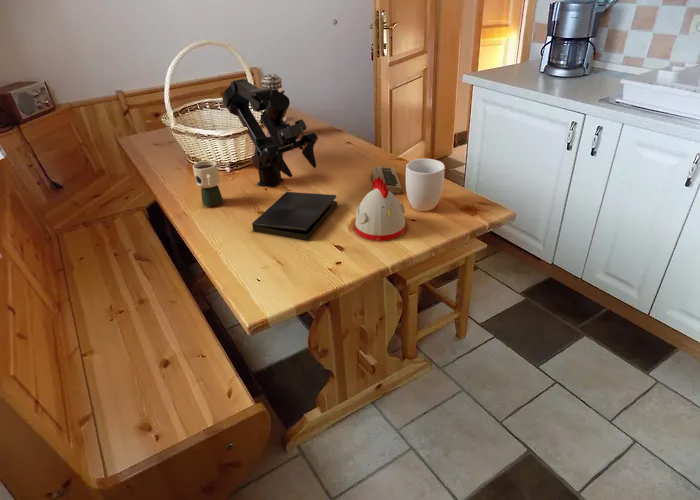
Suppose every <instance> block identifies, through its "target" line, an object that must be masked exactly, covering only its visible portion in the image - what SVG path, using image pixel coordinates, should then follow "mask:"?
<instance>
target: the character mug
mask: <svg viewBox="0 0 700 500" xmlns="http://www.w3.org/2000/svg"><path fill="white" fill-rule="evenodd" d="M217 163H218V162H216V161H214V160H208V159H207V160H201V161H198V162H196V163H194V164H193V165H192V171H193V175H194V179H195V180H194V181H195V183H196V187H198V188H200V191H201V201H202V205H203V206H205V207H212V206H216V205H218V204H219V205H220V203H222V202H223V201H224V199H223V196H222V193H221V190H220V188H219V186H218V185H220V184H221V178H220V173H219V168H218V167H217Z"/></svg>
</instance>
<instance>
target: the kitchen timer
mask: <svg viewBox="0 0 700 500" xmlns="http://www.w3.org/2000/svg"><path fill="white" fill-rule="evenodd" d="M371 184H372V188H373V189H372V190H370V191H369V192H368V193H367V194H366V195H365V196H364V197H363V199H362V200H361V202H360V203H359V206H356V212H355V223H354V224H355V232H356V233H357V235H359V236H360V237H361V238H363V239H366V240H369V241H375V242H381V241H382V242H384V241H390V240H394V239H397V238H399V237H401V236H402V235H403V234H404V233H405V231H406V217H405V211H406V209H405V205H404V203H403V202H400V201H399V199H398V198H397V197H396V196H395V193H391V192H390V191H389V189H386V183H383V179H381V178H380V177H378V178H377V179H374V180H372V181H371Z"/></svg>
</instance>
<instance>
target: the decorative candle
mask: <svg viewBox="0 0 700 500" xmlns="http://www.w3.org/2000/svg"><path fill="white" fill-rule="evenodd" d="M260 81H261V85H262V88H269V89H272V90H275V89H278V92H280V93H283V94H285V90H284V88H283V84H282V77H280V76H279V75H278V74H276V73H275V74H274V73H272V74H265V75H264V76H263V77H262V79H260ZM282 119H283V120H284V122H285V123H286V124H288V120H287V116H286V115H285V116H284V118H282ZM270 136H271V135H270V134H269V132H268V131H267V137H270Z"/></svg>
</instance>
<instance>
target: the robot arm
mask: <svg viewBox="0 0 700 500" xmlns="http://www.w3.org/2000/svg"><path fill="white" fill-rule="evenodd" d="M290 103H291V102H290V98H289V97H288V96H287V95H286V94H285V93H280V92H278V89H275V90H272V89H269V88H263V87H262V88H261V87H258V86H256V85H255V84H253V83H251V82H249V81H248V80H247V79H245V78H240V79H235V80H232V81H230V85H229V86H228V87H227V88H226V89H225V90H224V91H223V94H222V104H223V106H224V108H226V109H227V111H228V112H229V113H230V114H231V115H233V116H235V117H237V118H238V120H239V121H240V123H241V124H242V126H243V128H244V127H247V128H248V131H246V133H247V135H248V137H249V139H251V142H252V143H253V145H254V154H253V157H252V160H251V162H252V165H253V167H254V168H255V169H256V170H257V172H258V177H259V182H257V185H258V186H262V187H270V188H275V187H277V186H278V185H279V184H280V183H281V182H282V181H283V180H284V178H283V177H282V173H283V174H284V175H286V176H287V177H289V178H292V177H293V173H292V171H291V170H290V168H289V167H288V165H287V162H285V160H284V153H286V152H290V151H292V150H295V149H298V148H299V149H300V150H301V154H302V155H303V156H304V158H305V159H306V160H307V162H308V163H309V164H310V165H311V166H312V167H313V168H314V169H316V168H317V161H316V157H315V151H314V147H315V145H316V143H317V141H318V139H319V137H318V135H317V134H316V132H314V131H311V132H307V133H305V132H304V131H306V130H307V128H308V127H307V124H306V123H305V121H304V120H303V119H298V120H295V122H294V124H293V125H292V124H290V123H288V122H287V123H285V122H284V120H283V119H282V118H284V116H286V114H287V112H288V109H289V107H290ZM250 108H251V109H252V110H254V111H255V112H256V113H258V112H262V113H261V114H260V119H259V121H258V120H257V118H256V117H255V115H254V113H253V111H252V110H251V109H250ZM259 122H260V123H259ZM261 125H264V127H265V129H266V130H268V131H267V133H268V132H269V134H270V135H271V136H270V137H269V136H267V134H266V133H265V131H264V129H263V128H262V127H261ZM299 135H302V136H301V137H300V136H299ZM299 138H300V139H299Z"/></svg>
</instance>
